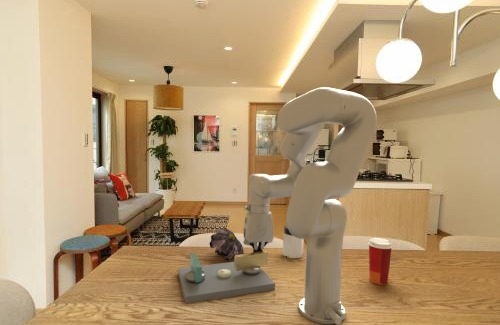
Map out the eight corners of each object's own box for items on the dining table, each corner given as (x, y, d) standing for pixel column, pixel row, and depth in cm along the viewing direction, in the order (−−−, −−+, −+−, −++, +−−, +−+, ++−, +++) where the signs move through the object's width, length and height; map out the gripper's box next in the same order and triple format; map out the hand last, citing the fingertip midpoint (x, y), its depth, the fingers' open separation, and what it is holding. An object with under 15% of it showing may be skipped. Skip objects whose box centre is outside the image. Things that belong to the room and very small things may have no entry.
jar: (307, 255, 122) (308, 227, 121) (294, 260, 117) (295, 230, 116) (291, 249, 129) (292, 222, 128) (278, 253, 124) (279, 225, 123)
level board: (274, 289, 93) (275, 278, 93) (185, 303, 84) (185, 291, 83) (253, 264, 112) (253, 255, 112) (178, 273, 102) (178, 264, 102)
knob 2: (239, 278, 95) (239, 259, 95) (231, 271, 101) (231, 253, 100) (270, 271, 101) (270, 254, 100) (261, 265, 106) (262, 248, 106)
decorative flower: (224, 241, 108) (210, 221, 120) (212, 268, 110) (199, 245, 122) (255, 245, 116) (239, 226, 129) (243, 270, 118) (228, 248, 130)
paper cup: (388, 277, 103) (390, 238, 102) (392, 288, 95) (395, 246, 95) (364, 274, 105) (366, 236, 104) (367, 284, 98) (369, 243, 97)
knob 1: (208, 285, 90) (208, 266, 89) (188, 288, 88) (188, 268, 87) (201, 269, 101) (201, 252, 101) (184, 272, 99) (184, 254, 99)
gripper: (241, 212, 97) (240, 266, 98) (282, 209, 102) (281, 261, 103) (235, 207, 104) (234, 257, 105) (273, 205, 109) (272, 253, 110)
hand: (257, 259), depth 104 cm, fingers closed
